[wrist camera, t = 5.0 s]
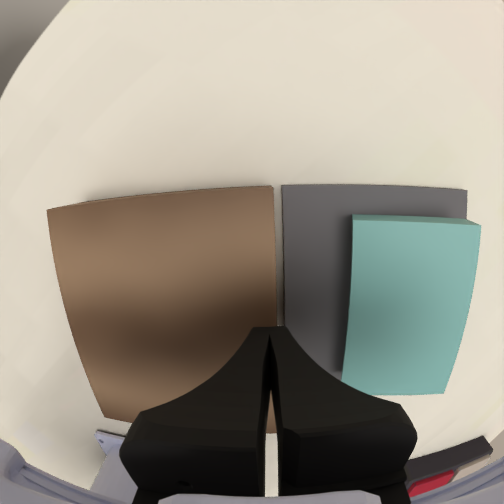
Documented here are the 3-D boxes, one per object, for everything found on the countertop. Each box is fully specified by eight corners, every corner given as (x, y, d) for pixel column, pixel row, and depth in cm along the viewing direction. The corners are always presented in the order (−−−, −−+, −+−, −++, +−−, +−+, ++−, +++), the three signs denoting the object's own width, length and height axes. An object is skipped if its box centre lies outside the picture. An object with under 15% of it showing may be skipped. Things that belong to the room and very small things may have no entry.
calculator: (498, 452, 15) (439, 521, 18) (480, 429, 19) (430, 500, 22) (413, 486, 15) (364, 544, 18) (399, 454, 20) (358, 520, 23)
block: (339, 393, 14) (341, 371, 16) (443, 393, 12) (436, 372, 14) (353, 220, 12) (352, 214, 13) (481, 225, 10) (465, 218, 12)
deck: (275, 392, 17) (277, 433, 13) (125, 384, 17) (104, 417, 14) (271, 185, 14) (273, 187, 10) (86, 201, 14) (46, 209, 11)
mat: (434, 371, 16) (436, 374, 16) (284, 391, 16) (284, 395, 16) (463, 189, 13) (467, 190, 13) (281, 185, 14) (282, 185, 13)
